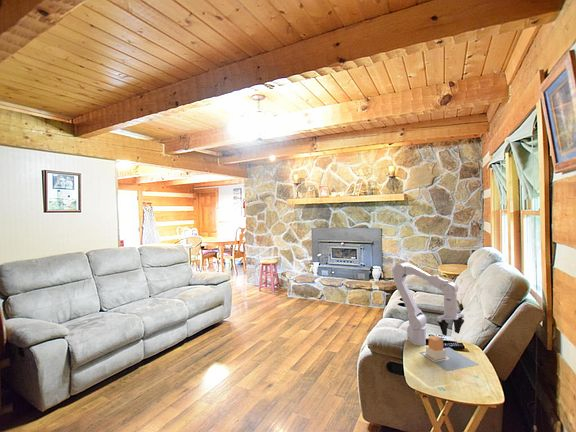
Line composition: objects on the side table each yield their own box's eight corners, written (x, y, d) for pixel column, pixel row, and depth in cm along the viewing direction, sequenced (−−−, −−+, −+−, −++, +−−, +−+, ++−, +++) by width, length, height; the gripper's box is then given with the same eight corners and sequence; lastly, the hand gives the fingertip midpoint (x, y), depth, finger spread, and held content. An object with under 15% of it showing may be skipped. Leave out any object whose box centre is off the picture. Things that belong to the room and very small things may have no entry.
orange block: (428, 346, 149) (428, 336, 149) (436, 345, 150) (436, 335, 150) (435, 351, 145) (435, 340, 145) (443, 349, 146) (443, 339, 146)
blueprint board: (419, 353, 152) (419, 352, 152) (449, 348, 157) (448, 347, 157) (446, 372, 135) (446, 371, 135) (479, 365, 139) (479, 364, 139)
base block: (426, 354, 150) (426, 346, 150) (436, 352, 152) (436, 344, 151) (435, 360, 144) (435, 351, 144) (445, 358, 146) (445, 350, 146)
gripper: (444, 311, 145) (444, 339, 145) (468, 307, 149) (469, 334, 149) (433, 306, 152) (434, 333, 152) (457, 303, 156) (457, 329, 156)
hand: (450, 333), depth 151 cm, fingers open, 7 cm apart
